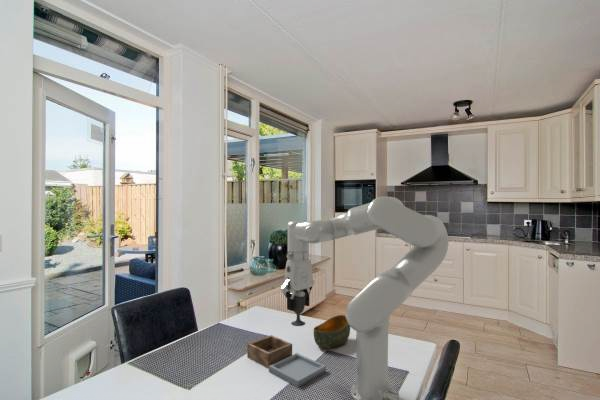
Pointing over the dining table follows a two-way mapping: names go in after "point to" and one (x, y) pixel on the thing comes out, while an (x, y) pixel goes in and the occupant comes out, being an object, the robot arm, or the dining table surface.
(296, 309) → the sundae
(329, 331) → the green bowl
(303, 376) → the tray
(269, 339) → the holder
